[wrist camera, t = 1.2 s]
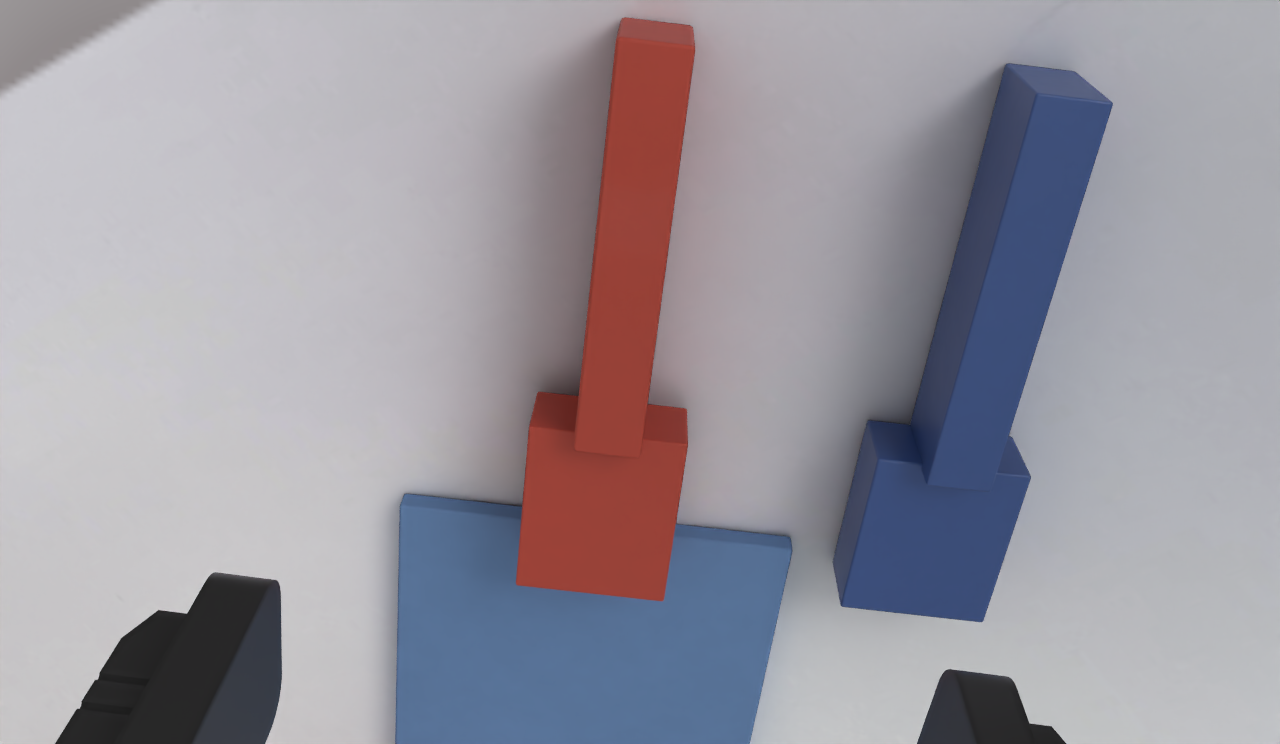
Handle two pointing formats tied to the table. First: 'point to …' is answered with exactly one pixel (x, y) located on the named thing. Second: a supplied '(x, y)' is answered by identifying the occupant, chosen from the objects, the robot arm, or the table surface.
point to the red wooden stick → (618, 355)
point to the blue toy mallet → (974, 368)
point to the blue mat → (577, 638)
